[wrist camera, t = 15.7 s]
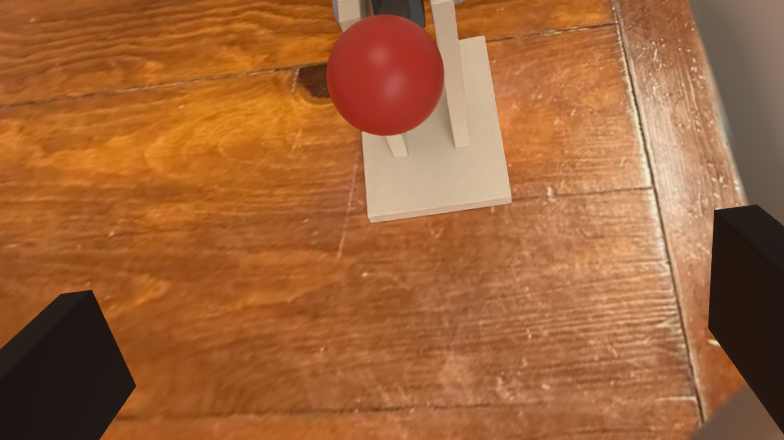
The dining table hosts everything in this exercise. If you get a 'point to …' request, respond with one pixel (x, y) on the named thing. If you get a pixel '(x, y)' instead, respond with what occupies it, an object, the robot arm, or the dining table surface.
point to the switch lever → (386, 70)
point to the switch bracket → (438, 134)
